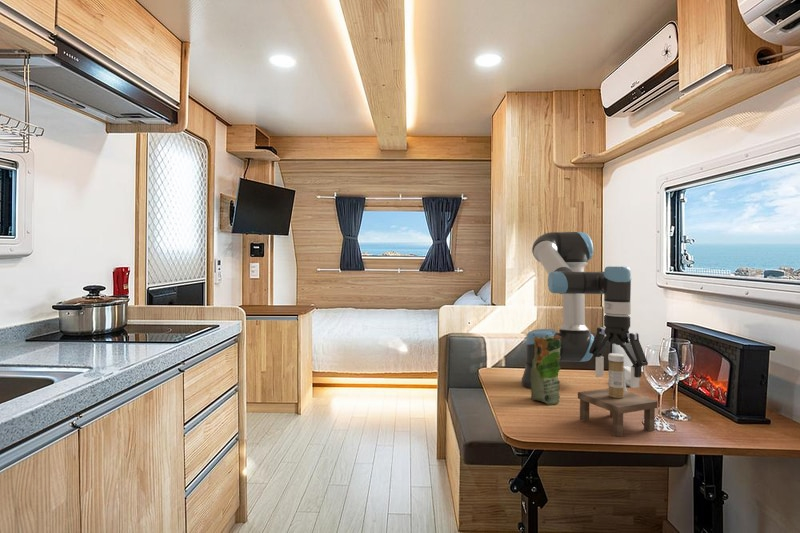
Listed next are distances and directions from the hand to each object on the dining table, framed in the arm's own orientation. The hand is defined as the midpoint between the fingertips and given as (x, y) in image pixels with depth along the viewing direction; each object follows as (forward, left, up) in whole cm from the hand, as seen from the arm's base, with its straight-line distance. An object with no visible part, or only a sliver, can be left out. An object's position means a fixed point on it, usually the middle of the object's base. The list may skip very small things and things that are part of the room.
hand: (616, 381), depth 137 cm
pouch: (-27, -5, -14) cm, 31 cm away
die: (-33, +42, -14) cm, 55 cm away
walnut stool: (0, 0, -14) cm, 14 cm away
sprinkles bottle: (0, 0, -5) cm, 5 cm away
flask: (-16, +20, -14) cm, 29 cm away
